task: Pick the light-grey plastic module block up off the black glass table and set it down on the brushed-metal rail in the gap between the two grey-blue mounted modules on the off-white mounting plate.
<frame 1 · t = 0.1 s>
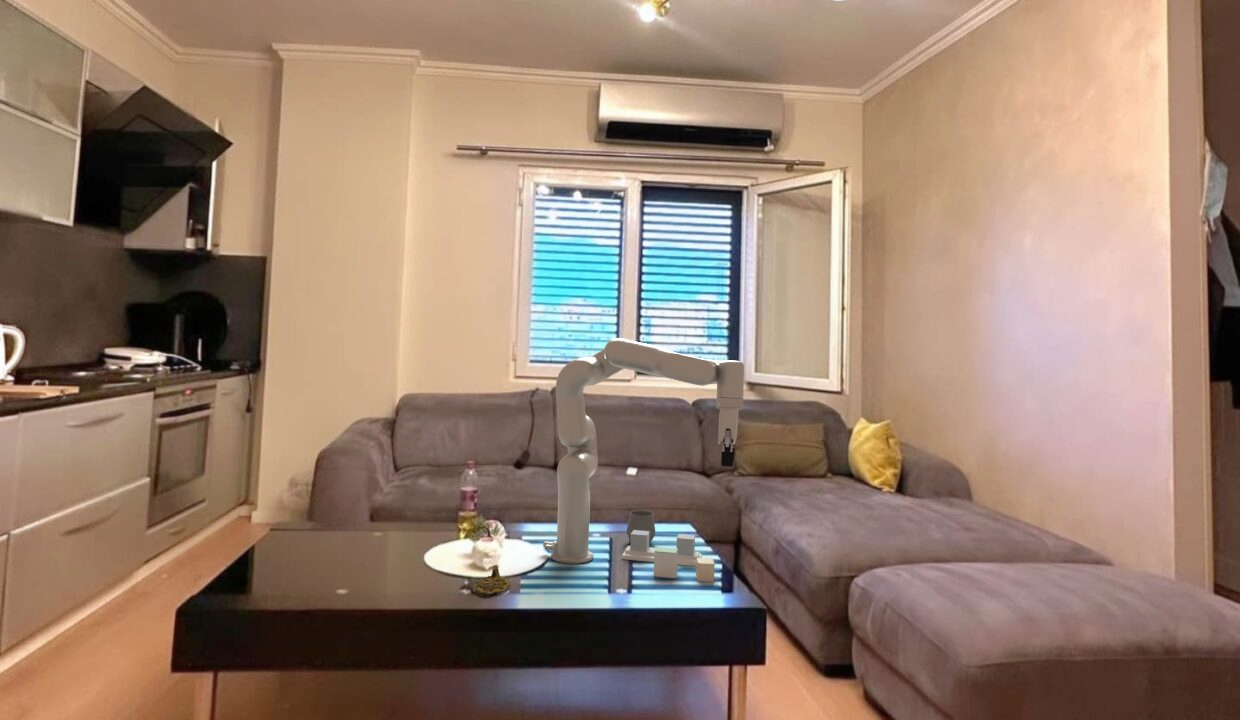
hand: (727, 463, 193), 31 cm above the table, tool pointing down, fingers open, 9 cm apart
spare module: (704, 578, 187), on the table
rail board: (662, 558, 205), on the table
cup: (640, 544, 220), on the table
module: (665, 574, 190), on the table
seal: (491, 589, 174), on the table
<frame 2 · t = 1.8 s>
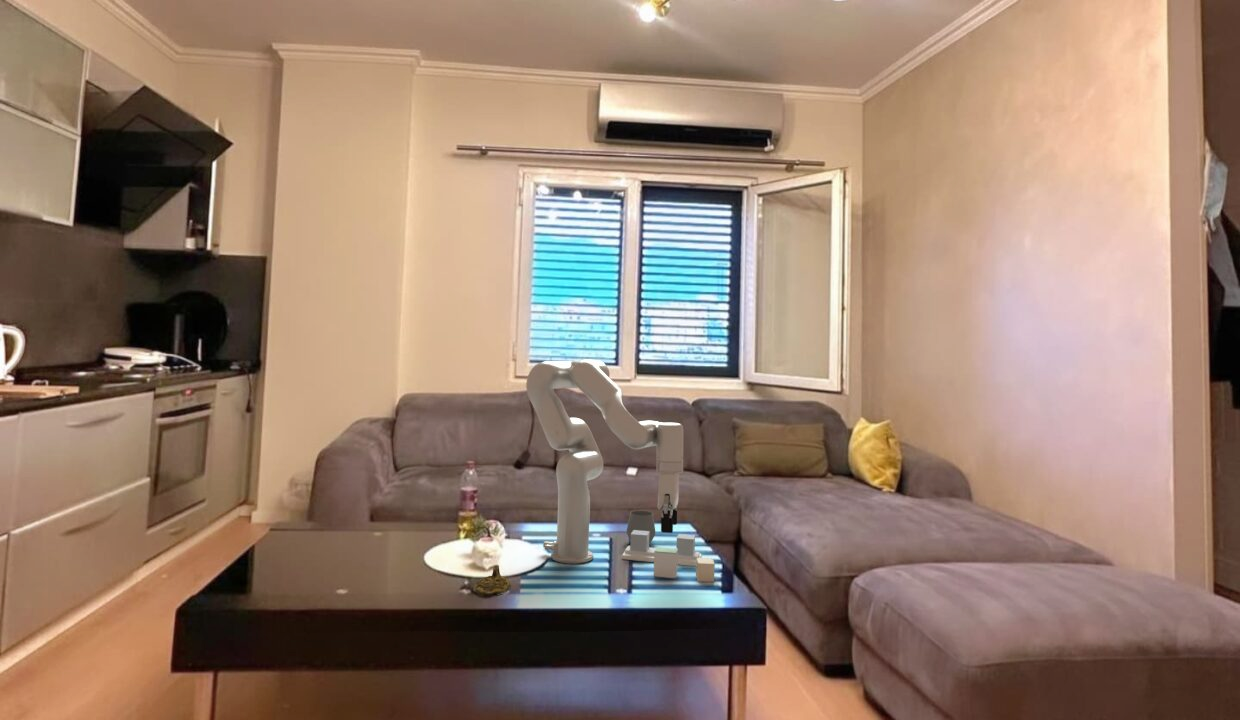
hand: (669, 528, 189), 13 cm above the table, tool pointing down, fingers open, 9 cm apart
nothing on the table moved.
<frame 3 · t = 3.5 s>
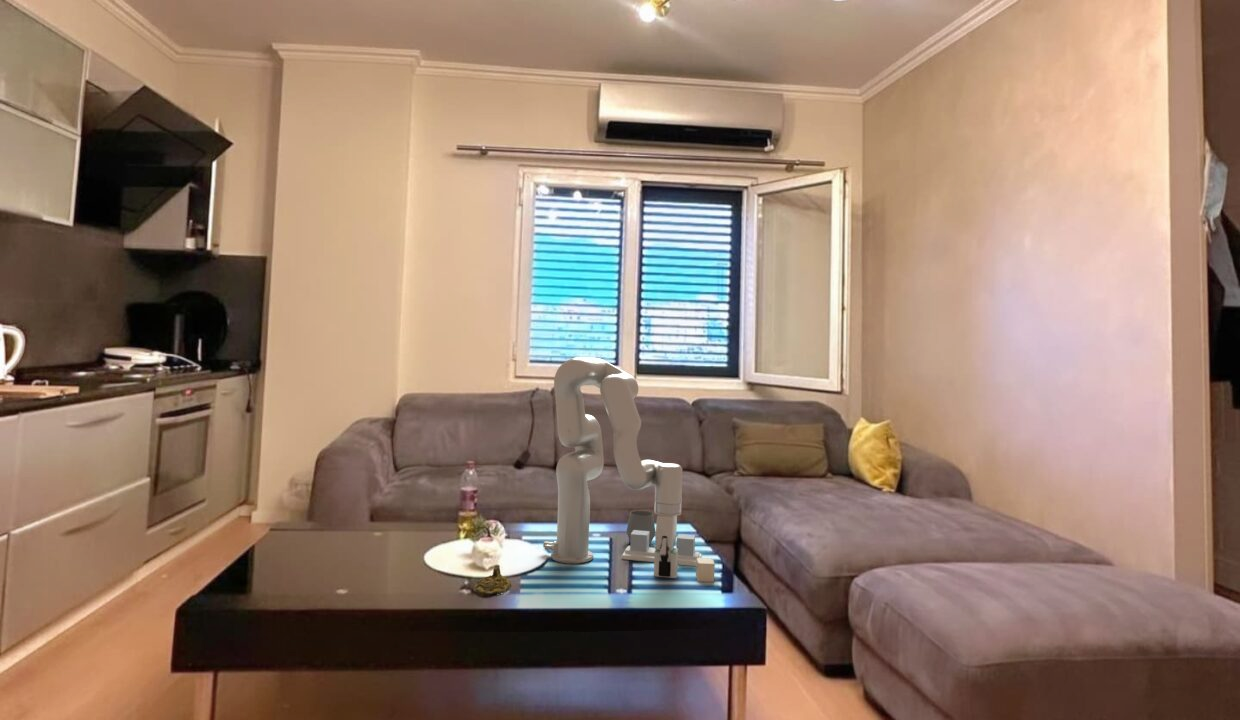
hand: (665, 572, 190), 1 cm above the table, tool pointing down, fingers closed on module, 4 cm apart
module: (665, 574, 190), on the table, touching gripper
everything else where it was.
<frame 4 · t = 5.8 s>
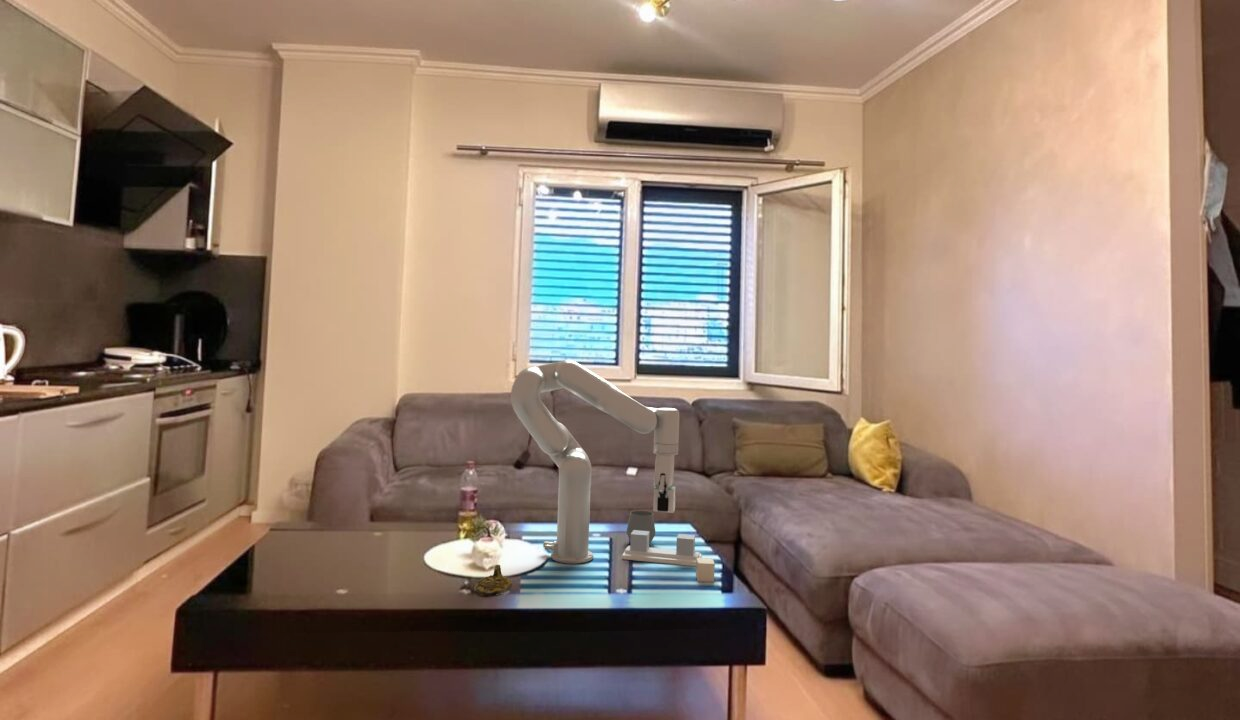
hand: (663, 508, 205), 15 cm above the table, tool pointing down, fingers closed on module, 4 cm apart
module: (664, 510, 205), point 15 cm above the table, touching gripper
everything else where it was.
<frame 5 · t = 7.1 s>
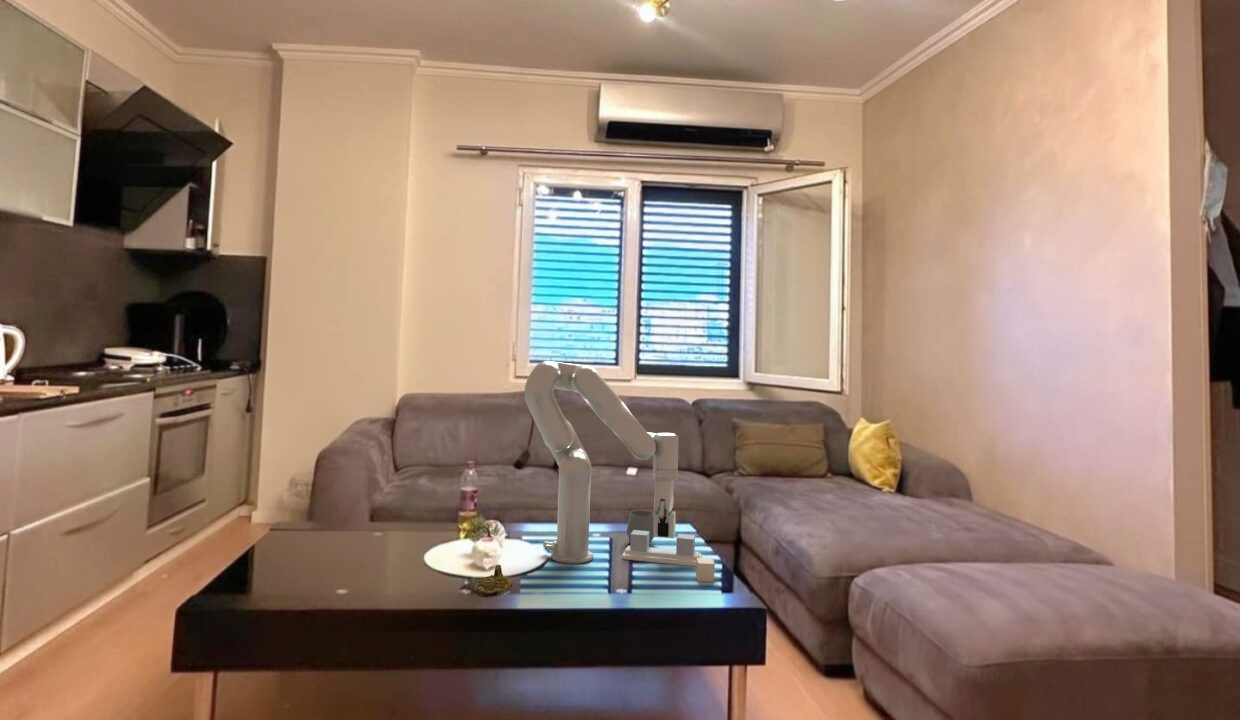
hand: (664, 533, 205), 8 cm above the table, tool pointing down, fingers closed on module, 4 cm apart
module: (664, 535, 205), point 7 cm above the table, touching gripper
everything else where it was.
when the fingers open (4 cm above the table, at t = 8.1 s): module drops 1 cm, resting on rail board.
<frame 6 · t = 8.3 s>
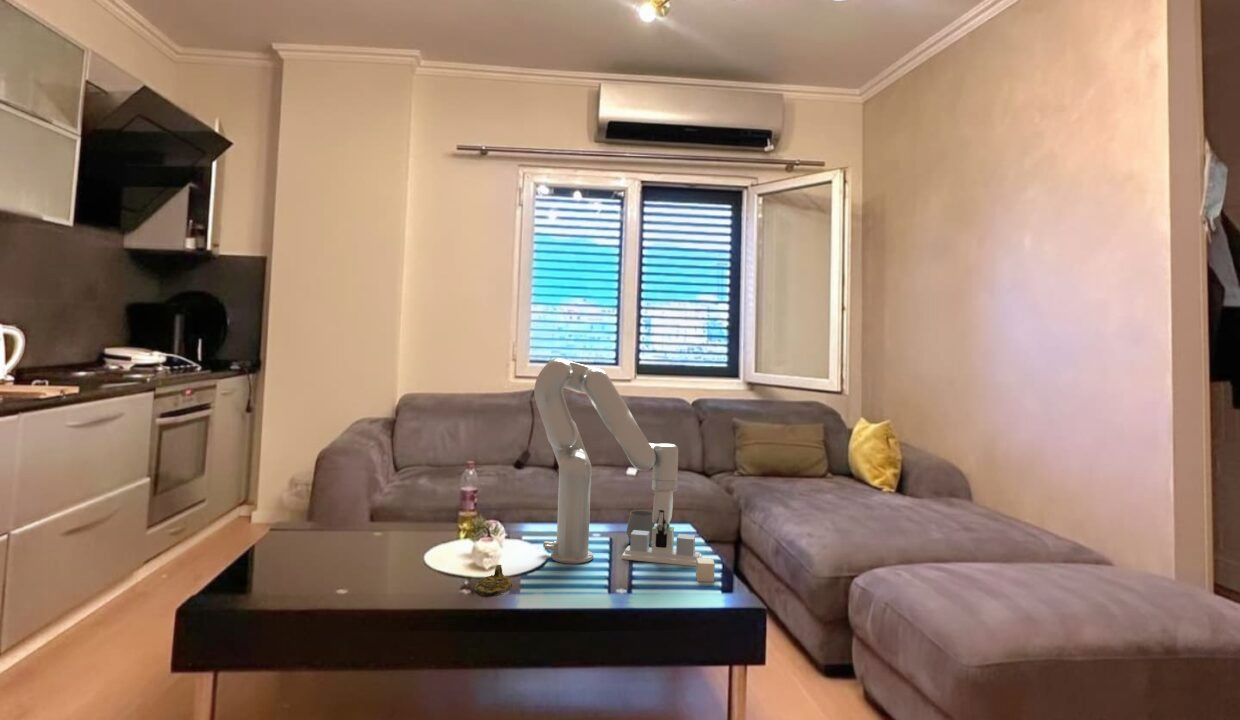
hand: (662, 543, 205), 4 cm above the table, tool pointing down, fingers open, 6 cm apart
module: (662, 551, 205), point 2 cm above the table, touching rail board
everything else where it was.
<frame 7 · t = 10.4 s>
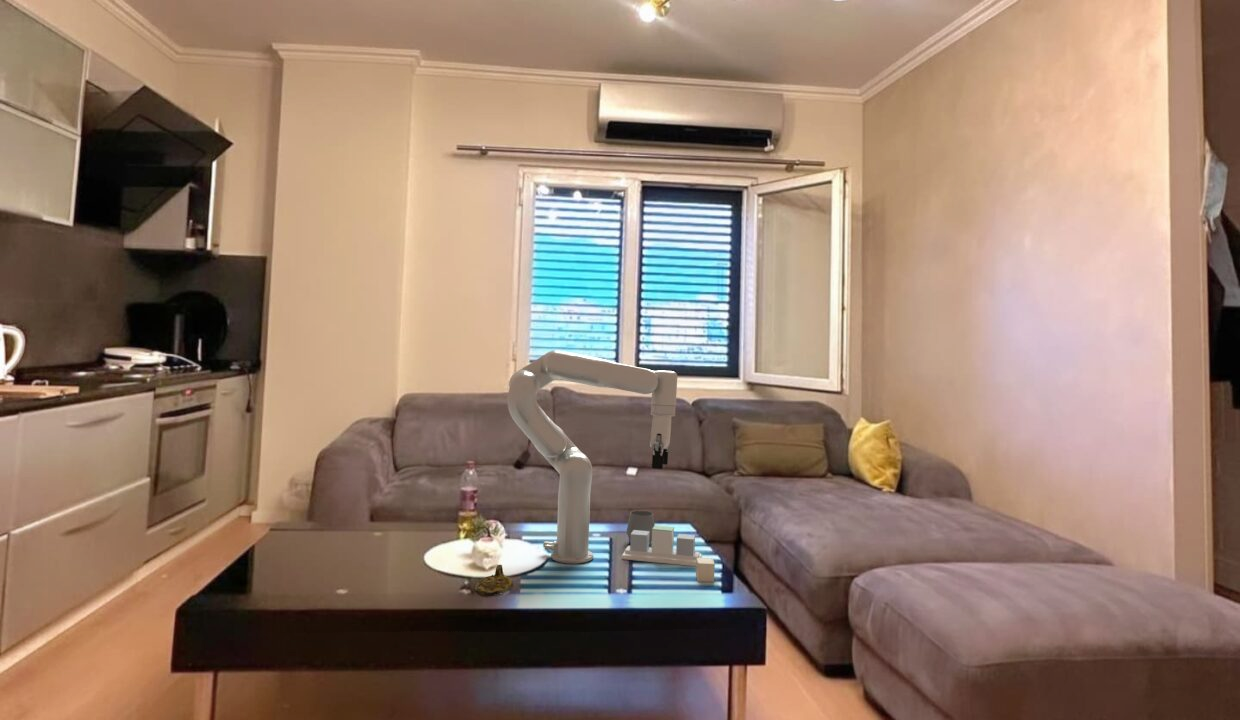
hand: (659, 466, 208), 27 cm above the table, tool pointing down, fingers open, 9 cm apart
nothing on the table moved.
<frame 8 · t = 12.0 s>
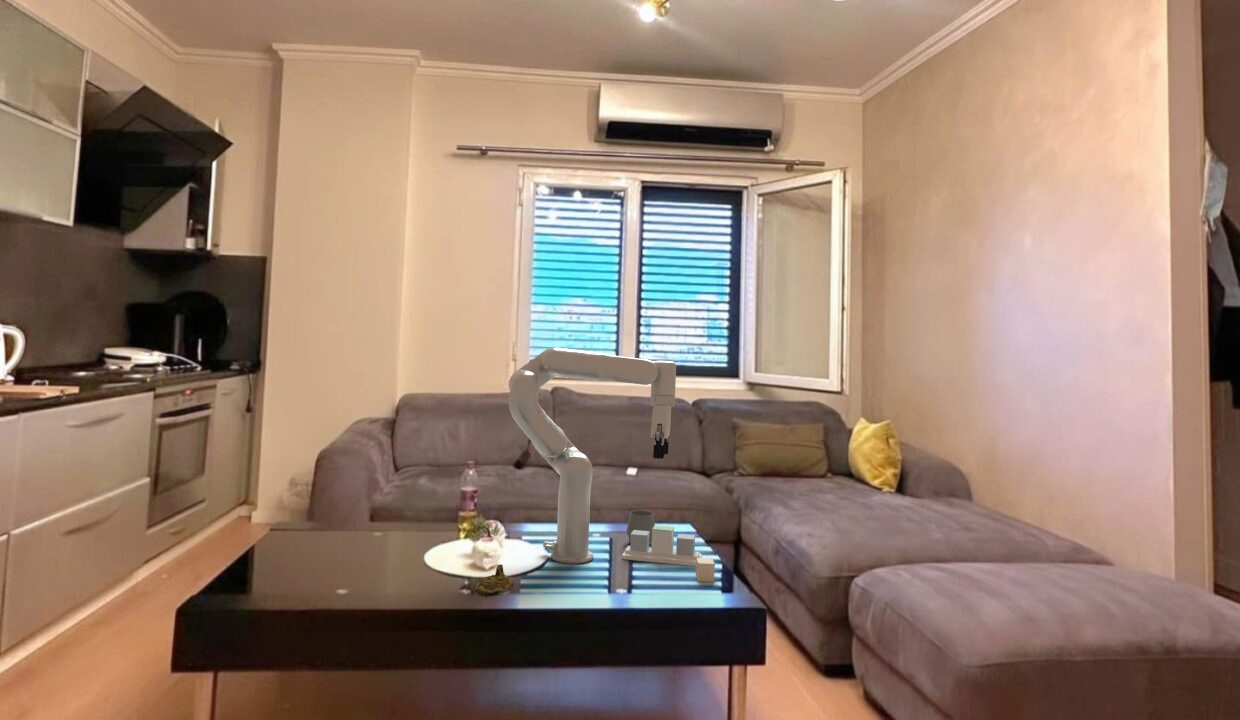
hand: (660, 456, 209), 30 cm above the table, tool pointing down, fingers open, 9 cm apart
at the end: module 0.0 cm off-centre on the rail board, point 2.2 cm above the rail board's base; module tilted 0°; the gripper is holding nothing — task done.
